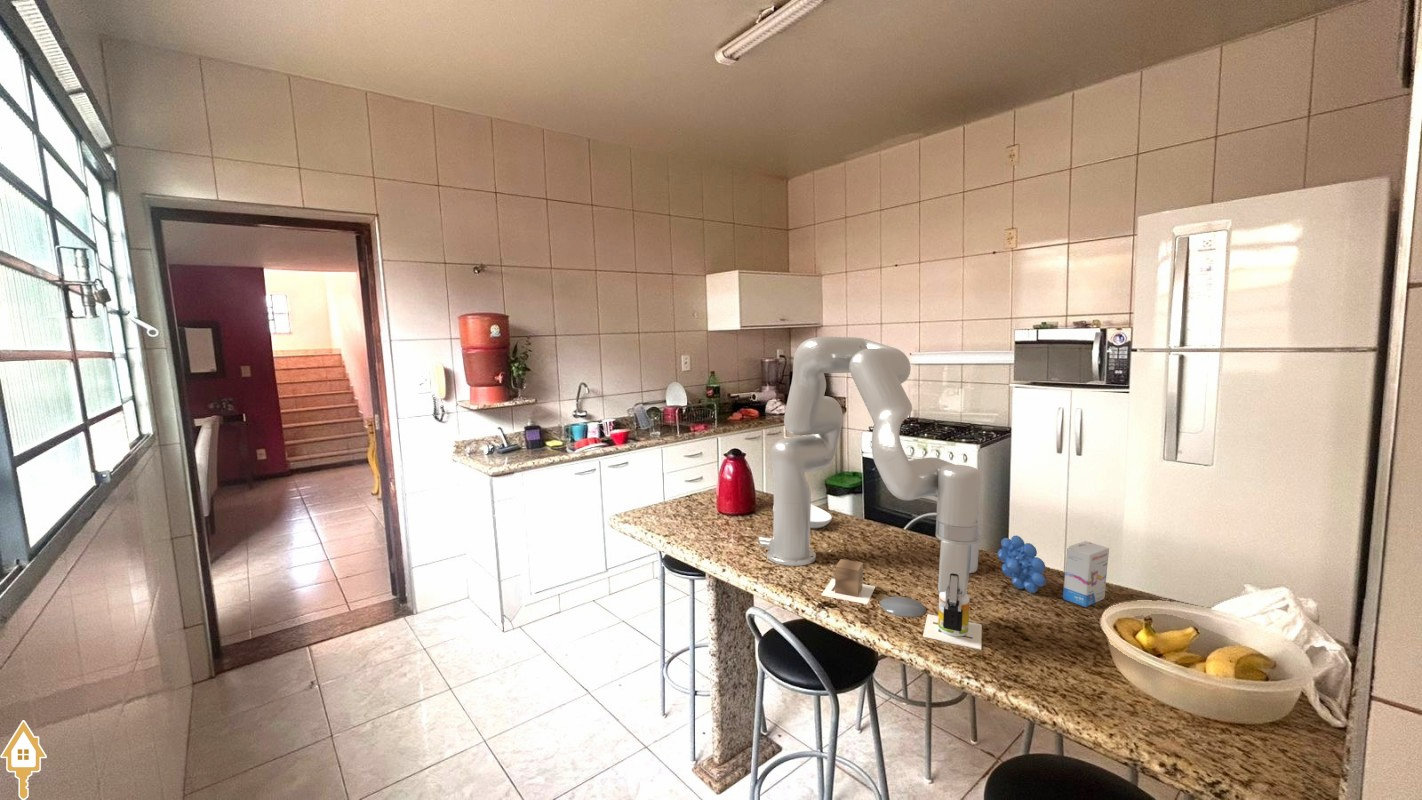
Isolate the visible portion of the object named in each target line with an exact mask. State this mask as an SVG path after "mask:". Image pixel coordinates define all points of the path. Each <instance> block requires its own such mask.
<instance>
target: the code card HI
mask: <svg viewBox="0 0 1422 800" xmlns="http://www.w3.org/2000/svg"><path fill="white" fill-rule="evenodd" d="M875 588H876V586H875V585H870V584H869V585H868V584H864V583H862V590H861V592H860V594H859V596H858V597H854V596H849V595H844V594H839V593H835V578H831V579H830V580H829V582H828V584H827V585H826V587H825V589H824V590H823V592H822V593H821V594H820V595H821V596H823V597H829V598H834V599H837V600H844V601H848V602H853V603H859V604H864V605H868V603H869V602H870V599H871V597H872V595H873V592H874V590H875Z"/></svg>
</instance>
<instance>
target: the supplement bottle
mask: <svg viewBox="0 0 1422 800" xmlns="http://www.w3.org/2000/svg"><path fill="white" fill-rule="evenodd" d="M948 592H950V589H948ZM957 593H959V594H960V591H959V590H957ZM957 600H959V597H957ZM945 601H946V590H945V592H941V593H940V592H939V596H938V615H937V616H938V628H939V629H940V630H941V631H942V632H943V633H945V634H947V635H951V636H964V635H966V634H967V633H968V625H969V622H970V621H969V620H970V601H971V600H970V596H969V594H968V593H967V592H966V595H965V596H963V597H962V602H961V610H963V613H962V630H961V631H955V630H950V629H945V628H944V627H943V618H944V607H945Z"/></svg>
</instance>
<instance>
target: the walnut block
mask: <svg viewBox="0 0 1422 800" xmlns="http://www.w3.org/2000/svg"><path fill="white" fill-rule="evenodd" d="M863 573H864V563H863V562H862V561H861V562H860V561H856V560H849V559H842V558H840V560H839V561H838V562H837V564H836V566H835V574H834V575H835V578H834V579H835V593H839V594H844V595H849V596H854V597H858V596H859V594H860V592H861V590H862V584H863V575H864V574H863Z"/></svg>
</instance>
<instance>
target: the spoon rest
mask: <svg viewBox="0 0 1422 800" xmlns="http://www.w3.org/2000/svg"><path fill="white" fill-rule="evenodd" d="M772 512H773V513H774V505H773V506H772ZM832 520H833V516H832V515H831V513H829V512H827V511H826V510H825V509H822V508H820V507H819V506H816V505H814V503H811V514H810V529H821V528H823V527H826V526H827V525H828V524H829V523H830V522H831V521H832Z"/></svg>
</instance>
